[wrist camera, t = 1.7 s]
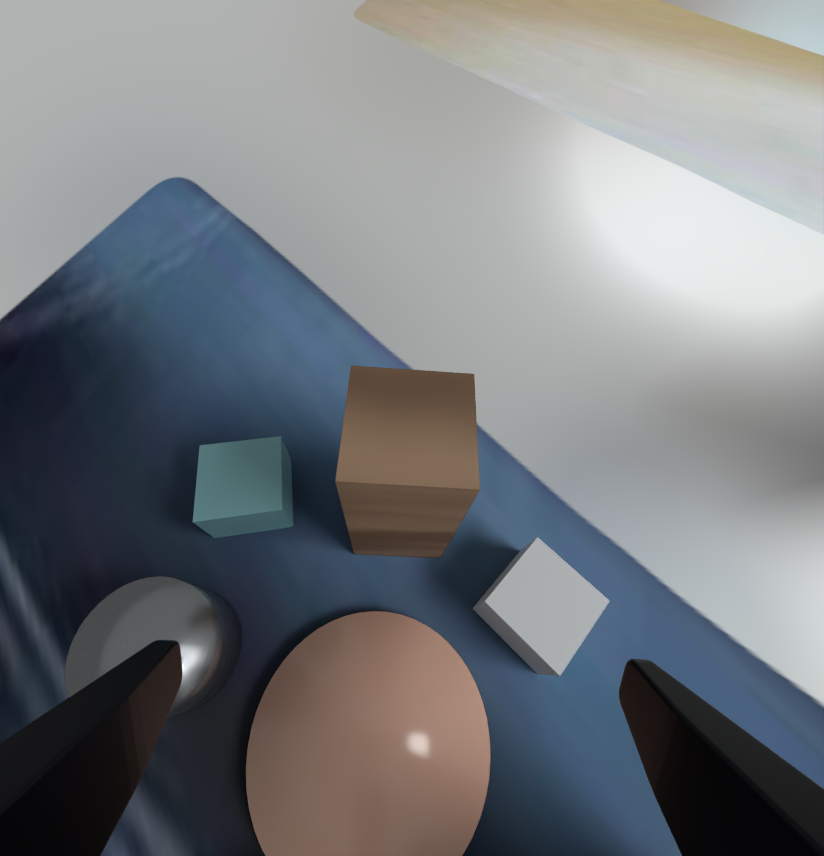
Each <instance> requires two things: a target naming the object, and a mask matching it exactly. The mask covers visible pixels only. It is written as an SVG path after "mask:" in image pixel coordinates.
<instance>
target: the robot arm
mask: <svg viewBox="0 0 824 856" xmlns="http://www.w3.org/2000/svg"><path fill="white" fill-rule="evenodd" d="M182 677H183V671H182V660H181V650H180V644H179V643H178V642H177V641H175V640H156V641H154V642H152V643H150V644H149V645H147V646H146V647H144V648H143V649H141V650H140V651H138V652H137V653H135V654H134V655H132V656H131V657H129V658H128V659H126V660H125V661H123V662H122V663H120V664H119V665H117V666H116V667H114V668H113V669H111V670H110V671H108V672H107V673H105V674H104V675H102V676H101V677H99V678H98V679H96V680H95V681H93V682H92V683H90V684H89V685H87V686H86V687H84V688H83V689H81V690H80V691H78V692H77V693H75V694H74V695H72V696H71V697H69V698H68V699H66V700H65V701H63V702H62V703H60V704H59V705H57V706H56V707H54V708H53V709H51V710H50V711H48V712H47V713H45V714H44V715H42V716H41V717H39V718H38V719H36V720H35V721H33V722H32V723H30V724H29V725H27V726H26V727H24V728H23V729H21V730H20V731H18V732H17V733H15V734H14V735H12V736H11V737H9V738H8V739H6V740H5V741H3V742H2V743H0V856H100V855H101V853H102V851H103V849H104V848H105V846H106V844H107V842H108V840H109V838H110V836H111V834H112V832H113V831H114V829H115V827H116V825H117V823H118V821H119V819H120V817H121V816H122V814H123V812H124V810H125V808H126V806H127V804H128V802H129V800H130V799H131V797H132V795H133V793H134V791H135V789H136V787H137V785H138V783H139V781H140V779H141V777H142V775H143V772H144V770H145V768H146V766H147V763H148V761H149V759H150V756H151V754H152V752H153V749H154V747H155V745H156V742H157V740H158V738H159V735H160V733H161V731H162V728H163V726H164V724H165V721H166V719H167V717H168V714H169V712H170V710H171V707H172V705H173V703H174V700H175V698H176V696H177V693H178V691H179V688H180V686H181V682H182ZM619 699H620V703H621V706H622V709H623V712H624V714H625V717H626V720H627V723H628V725H629V728H630V731H631V734H632V736H633V739H634V742H635V744H636V747H637V750H638V753H639V755H640V758H641V761H642V764H643V766H644V769H645V772H646V775H647V777H648V780H649V782H650V785H651V787H652V790H653V793H654V795H655V797H656V799H657V802H658V804H659V806H660V808H661V811H662V813H663V815H664V817H665V819H666V822H667V824H668V826H669V828H670V830H671V832H672V835H673V837H674V839H675V841H676V843H677V845H678V848H679V850H680V852H681V854H682V856H824V789H823V788H822V787H820V786H819V785H818V784H816V783H815V782H814V781H812V780H811V779H810V778H808V777H807V776H806V775H804V774H803V773H801V772H800V771H799V770H797V769H796V768H795V767H793V766H792V765H791V764H789V763H788V762H787V761H785V760H784V759H783V758H781V757H780V756H779V755H777V754H776V753H774V752H773V751H772V750H770V749H769V748H768V747H766V746H765V745H764V744H762V743H761V742H760V741H758V740H757V739H756V738H754V737H753V736H752V735H750V734H749V733H747V732H746V731H745V730H743V729H742V728H741V727H739V726H738V725H737V724H735V723H734V722H733V721H731V720H730V719H729V718H727V717H726V716H725V715H723V714H722V713H720V712H719V711H718V710H716V709H715V708H714V707H712V706H711V705H710V704H708V703H707V702H706V701H704V700H703V699H702V698H700V697H699V696H698V695H696V694H695V693H693V692H692V691H691V690H689V689H688V688H687V687H685V686H684V685H683V684H681V683H680V682H679V681H677V680H676V679H675V678H673V677H672V676H671V675H669V674H668V673H666V672H665V671H664V670H662V669H661V668H660V667H658V666H657V665H656V664H654V663H653V662H651V661H649V660H641V659H630V660H628V661H627V663H626V665H625V669H624V673H623V677H622V681H621V685H620V688H619Z"/></svg>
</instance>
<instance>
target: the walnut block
mask: <svg viewBox="0 0 824 856" xmlns="http://www.w3.org/2000/svg"><path fill="white" fill-rule="evenodd" d="M335 482H336V486H337V490H338V494H339V498H340V501H341V505H342V509H343V513H344V517H345V521H346V525H347V528H348V532H349V536H350V540H351V544H352V548H353V551H354V554H363V555H383V556H402V557H422V558H441V556H442V554H443V552H444V551H445V549H446V547H447V545H448V544H449V542H450V540H451V539H452V537H453V535H454V533H455V532H456V530H457V528H458V526H459V525H460V523H461V521H462V520H463V518H464V516H465V514H466V513H467V511H468V509H469V507H470V506H471V504H472V502H473V500H474V499H475V497H476V495H477V494H478V492H479V490H480V482H479V463H478V443H477V423H476V404H475V384H474V374H466V373H452V372H436V371H422V370H408V369H393V368H378V367H364V366H351V371H350V378H349V385H348V392H347V400H346V407H345V414H344V421H343V429H342V436H341V443H340V450H339V458H338V465H337V472H336V479H335Z"/></svg>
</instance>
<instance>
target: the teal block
mask: <svg viewBox="0 0 824 856" xmlns="http://www.w3.org/2000/svg"><path fill="white" fill-rule="evenodd" d="M193 523H194V524H196V525H197V526H199V527H200V528H201V529H203V530H204V531H205V532H207V533H208V534H209V535H211V536H212V537H214V538H220V537H227V536H234V535H241V534H247V533H254V532H261V531H268V530H275V529H282V528H288V527H293V498H292V466H291V458H290V455H289V453H288V451H287V449H286V446H285V444H284V442H283V440H282V437H281V436H277V437H268V438H259V439H251V440H242V441H233V442H225V443H216V444H207V445H200V447H199V458H198V469H197V480H196V491H195V502H194V513H193Z"/></svg>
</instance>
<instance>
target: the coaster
mask: <svg viewBox="0 0 824 856" xmlns="http://www.w3.org/2000/svg"><path fill="white" fill-rule="evenodd" d="M489 774H490V736H489V730H488V723H487V717H486V713H485V709H484V706H483V702H482V699H481V696H480V693H479V691H478V688H477V685H476V683H475V681H474V679H473V677H472V675H471V673H470V671H469V669H468V668H467V666H466V665H465V663H464V662H463V660H462V659H461V657H460V656H459V655H458V653H457V652H456V651H455V650H454V649H453V647H452V646H451V645H450V644H449V643H448V642H447V641H446V640H445V639H444V638H442V637H441V636H440V635H439V634H438V633H437V632H435V631H434V630H432V629H431V628H429V627H428V626H427V625H425V624H423V623H421V622H419V621H417V620H415V619H413V618H410V617H407V616H404V615H401V614H396V613H391V612H382V611H369V612H359V613H355V614H351V615H347V616H344V617H341V618H339V619H336V620H333V621H331V622H329V623H327V624H326V625H324V626H322V627H320V628H318V629H317V630H316V631H314V632H313V633H311V634H310V635H309V636H307V637H306V638H305V639H304V640H303V641H302V642H301V643H299V644H298V645H297V646H296V647H295V648H294V649H293V650H292V651H291V653H290V654H289V655H288V656H287V657H286V658H285V660H284V661H283V662H282V663H281V665H280V666H279V668H278V669H277V671H276V672H275V674H274V675H273V677H272V679H271V680H270V682H269V684H268V686H267V688H266V690H265V691H264V694H263V696H262V699H261V701H260V703H259V706H258V708H257V711H256V714H255V718H254V721H253V724H252V728H251V733H250V738H249V743H248V749H247V761H246V790H247V798H248V805H249V811H250V815H251V819H252V823H253V827H254V831H255V833H256V836H257V838H258V841H259V843H260V846H261V848H262V851H263V852H264V854H265V856H463V854H464V852H465V850H466V848H467V846H468V845H469V843H470V841H471V839H472V837H473V835H474V832H475V830H476V827H477V825H478V822H479V820H480V817H481V814H482V810H483V806H484V803H485V799H486V794H487V788H488V782H489Z"/></svg>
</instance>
